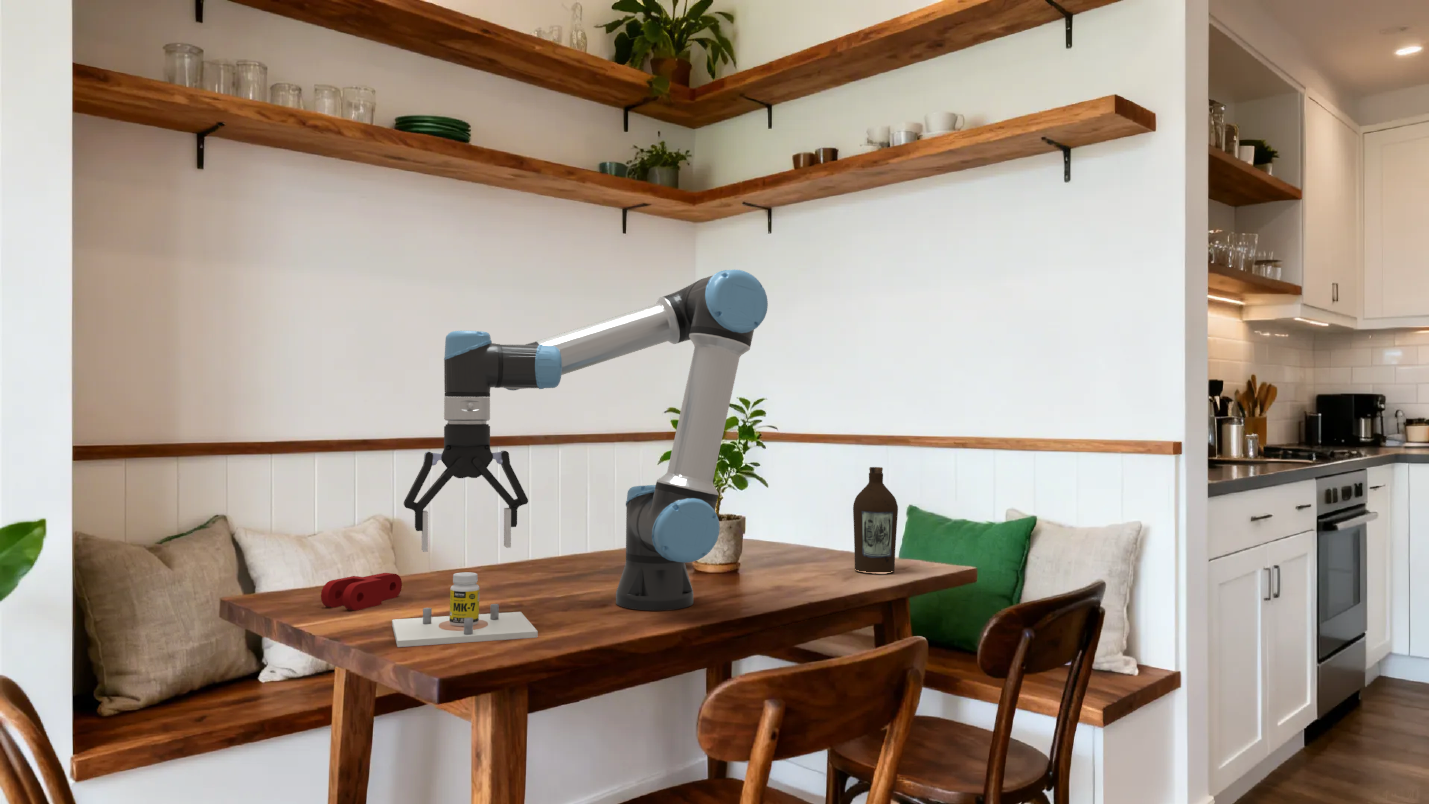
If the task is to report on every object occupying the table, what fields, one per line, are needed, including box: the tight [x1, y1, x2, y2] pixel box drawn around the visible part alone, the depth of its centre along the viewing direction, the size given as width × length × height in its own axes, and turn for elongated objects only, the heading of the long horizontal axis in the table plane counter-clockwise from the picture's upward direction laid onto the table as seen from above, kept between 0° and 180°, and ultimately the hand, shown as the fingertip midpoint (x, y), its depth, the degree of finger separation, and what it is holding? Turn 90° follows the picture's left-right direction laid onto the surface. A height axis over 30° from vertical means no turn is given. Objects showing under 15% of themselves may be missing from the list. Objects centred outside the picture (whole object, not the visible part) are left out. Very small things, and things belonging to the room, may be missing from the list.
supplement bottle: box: [449, 571, 481, 627], centre depth 161 cm, size 5×5×8 cm
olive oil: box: [852, 466, 899, 572], centre depth 229 cm, size 11×11×25 cm
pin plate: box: [391, 603, 539, 648], centre depth 161 cm, size 22×16×4 cm
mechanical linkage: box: [320, 572, 403, 611], centre depth 183 cm, size 16×7×5 cm, turn 156°
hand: (466, 548), depth 161 cm, fingers open, 13 cm apart
